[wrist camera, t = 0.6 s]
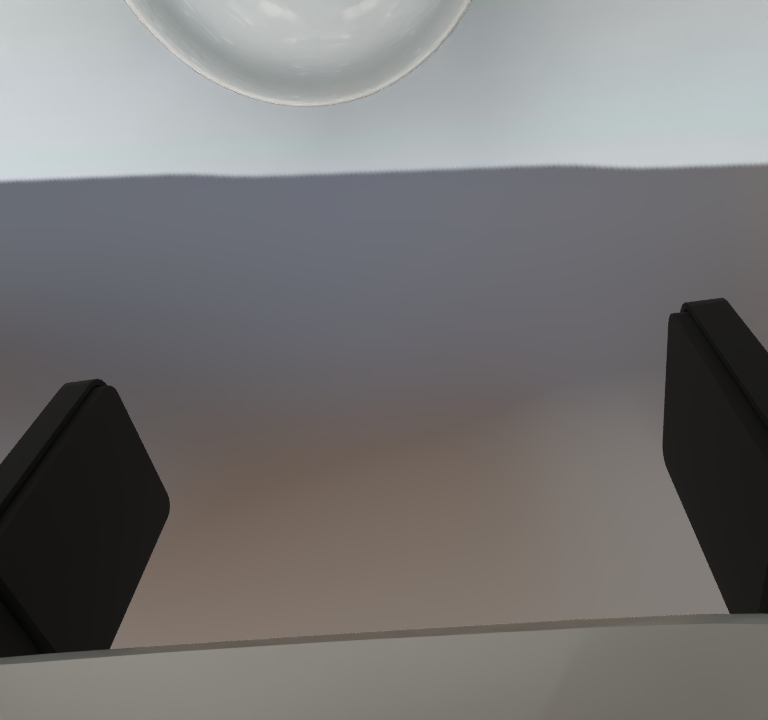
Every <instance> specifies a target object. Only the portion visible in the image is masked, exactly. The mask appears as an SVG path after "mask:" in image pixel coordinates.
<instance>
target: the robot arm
mask: <svg viewBox="0 0 768 720" xmlns="http://www.w3.org/2000/svg"><path fill="white" fill-rule="evenodd" d="M663 456H664V461H665V465H666V467H667V470H668V472H669V475H670V477H671V479H672V482H673V484H674V486H675V488H676V491H677V493H678V495H679V498H680V500H681V502H682V505H683V507H684V509H685V511H686V514H687V516H688V518H689V521H690V523H691V525H692V528H693V530H694V532H695V534H696V537H697V539H698V541H699V544H700V546H701V548H702V551H703V553H704V555H705V558H706V560H707V562H708V564H709V567H710V569H711V571H712V574H713V576H714V578H715V581H716V583H717V585H718V587H719V590H720V592H721V594H722V597H723V599H724V601H725V604H726V606H727V608H728V610H729V613H730V614H689V615H666V616H644V617H623V618H622V617H621V618H599V619H575V620H560V621H544V622H543V621H542V622H526V623H509V624H491V625H475V626H458V627H442V628H425V629H407V630H391V631H377V632H360V633H344V634H329V635H313V636H298V637H283V638H269V639H268V638H267V639H253V640H237V641H222V642H208V643H194V644H193V643H192V644H178V645H164V646H150V647H136V648H122V649H110V647H111V644H112V642H113V640H114V638H115V635H116V633H117V631H118V629H119V627H120V624H121V622H122V620H123V618H124V615H125V613H126V611H127V608H128V606H129V604H130V602H131V599H132V597H133V595H134V593H135V590H136V588H137V585H138V583H139V581H140V579H141V577H142V574H143V572H144V570H145V567H146V565H147V563H148V561H149V558H150V556H151V554H152V552H153V549H154V547H155V545H156V543H157V540H158V538H159V535H160V533H161V531H162V529H163V527H164V524H165V522H166V520H167V517H168V515H169V510H170V502H169V497H168V494H167V492H166V490H165V488H164V486H163V484H162V482H161V480H160V478H159V476H158V474H157V472H156V470H155V468H154V466H153V463H152V462H151V459H150V458H149V455H148V453H147V451H146V449H145V447H144V445H143V443H142V441H141V439H140V437H139V435H138V433H137V431H136V429H135V427H134V425H133V423H132V421H131V419H130V417H129V415H128V413H127V410H126V409H125V407H124V404H123V402H122V401H121V398H120V396H119V394H118V392H117V391H116V389H115V388H113V387H112V386H107V385H106V383H105V382H103V381H102V380H99V379H93V380H85V381H78V382H70V383H66V384H65V385H63V386H62V387H61V389H60V390H59V391H58V392H57V393H56V395H55V396H54V397H53V398H52V400H51V401H50V402H49V403H48V405H47V406H46V407H45V409H44V410H43V411H42V412H41V414H40V415H39V416H38V417H37V419H36V420H35V421H34V422H33V424H32V425H31V426H30V428H29V429H28V430H27V431H26V433H25V434H24V435H23V436H22V438H21V439H20V440H19V441H18V443H17V444H16V445H15V447H14V448H13V449H12V450H11V452H10V453H9V454H8V456H7V457H6V458H5V459H4V461H3V462H2V463H1V464H0V720H768V352H767V351H766V350H765V349H764V347H763V346H762V345H761V343H760V342H759V341H758V339H757V338H756V337H755V336H754V335H753V333H752V332H751V331H750V329H749V328H748V327H747V326H746V324H745V323H744V322H743V320H742V319H741V318H740V317H739V316H738V314H737V313H736V312H735V310H734V309H733V308H732V306H731V305H730V304H729V303H728V301H727V300H725V299H724V298H717V299H709V300H701V301H694V302H686V303H684V304H683V305H682V307H681V311H680V313H673V314H671V315H670V317H669V323H668V342H667V362H666V383H665V404H664V425H663Z"/></svg>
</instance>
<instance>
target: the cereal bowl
mask: <svg viewBox="0 0 768 720" xmlns="http://www.w3.org/2000/svg"><path fill="white" fill-rule="evenodd" d="M471 1H472V0H125V2H126V3H127V4H128V6H129V7H130V8H131V10H132V11H133V12H134V13H135V15H136V16H137V17H138V18H139V19H140V21H141V22H142V23H143V24H144V25H145V26H146V27H147V29H148V30H149V31H150V32H151V33H152V34H153V35H154V36H155V37H156V38H157V39H158V40H159V41H160V42H161V43H162V44H163V45H164V46H165V47H166V48H167V49H169V50H170V51H171V52H172V53H173V54H174V55H175V56H177V57H178V58H179V59H180V60H181V61H183V62H184V63H185V64H186V65H188V66H189V67H191V68H192V69H193V70H195V71H196V72H198V73H199V74H201V75H203V76H204V77H206V78H208V79H209V80H211V81H213V82H215V83H216V84H218V85H220V86H222V87H224V88H226V89H229V90H231V91H234V92H236V93H238V94H241V95H244V96H247V97H250V98H253V99H256V100H259V101H263V102H268V103H273V104H279V105H286V106H297V107H315V106H326V105H334V104H340V103H345V102H349V101H353V100H356V99H360V98H363V97H366V96H368V95H371V94H373V93H376V92H378V91H380V90H382V89H384V88H386V87H388V86H390V85H392V84H394V83H395V82H397V81H398V80H400V79H402V78H403V77H405V76H406V75H407V74H409V73H410V72H412V71H413V70H414V69H416V68H417V67H418V66H419V65H421V64H422V63H423V62H424V61H425V60H426V59H427V58H428V57H429V56H430V55H431V54H433V53H434V52H435V51H436V50H437V49H438V48H439V46H440V45H441V44H442V43H443V41H444V40H445V39H446V38H447V37H448V36H449V34H450V33H452V31H453V30H454V28H455V26H456V25H457V23H458V22H459V20H460V19H461V17H462V16H463V14H464V13H465V11H466V10H467V9H468V7H469V5H470V3H471Z"/></svg>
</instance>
